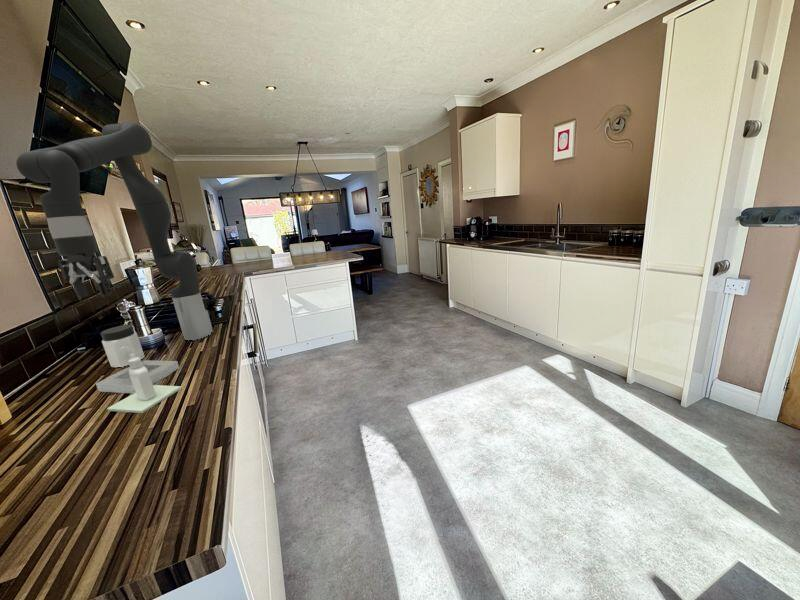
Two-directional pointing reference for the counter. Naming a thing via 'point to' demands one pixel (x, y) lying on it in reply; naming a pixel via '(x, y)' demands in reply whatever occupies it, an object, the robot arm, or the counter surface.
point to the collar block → (123, 382)
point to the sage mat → (141, 406)
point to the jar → (121, 345)
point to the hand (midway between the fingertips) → (95, 296)
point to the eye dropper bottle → (141, 379)
